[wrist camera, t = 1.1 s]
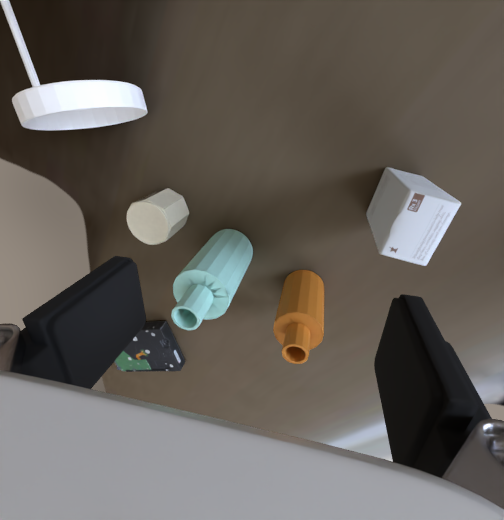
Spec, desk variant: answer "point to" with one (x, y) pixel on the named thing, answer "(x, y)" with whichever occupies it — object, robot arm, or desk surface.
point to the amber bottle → (300, 315)
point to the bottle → (211, 279)
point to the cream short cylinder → (157, 216)
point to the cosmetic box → (409, 216)
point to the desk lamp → (72, 97)
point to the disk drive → (152, 350)
